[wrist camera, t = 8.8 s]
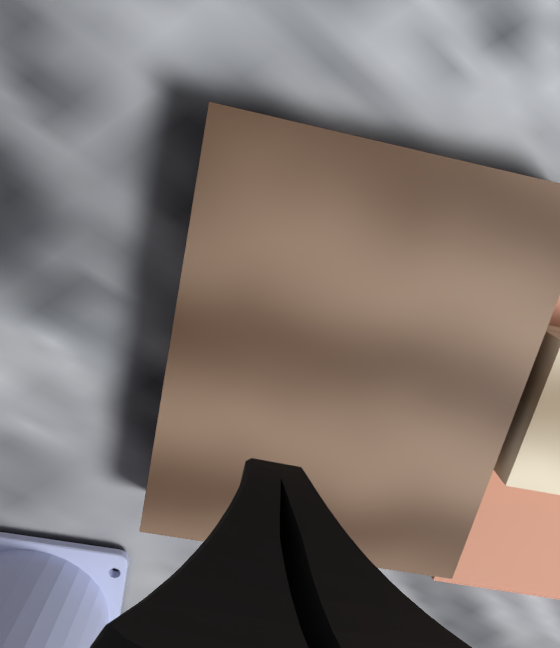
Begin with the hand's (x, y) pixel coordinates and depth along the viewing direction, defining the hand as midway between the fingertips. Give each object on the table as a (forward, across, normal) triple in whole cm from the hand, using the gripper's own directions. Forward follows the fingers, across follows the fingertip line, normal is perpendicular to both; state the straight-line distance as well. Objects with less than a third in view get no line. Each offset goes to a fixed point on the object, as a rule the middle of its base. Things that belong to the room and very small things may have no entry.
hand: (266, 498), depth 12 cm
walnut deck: (+9, -3, -1) cm, 10 cm away
